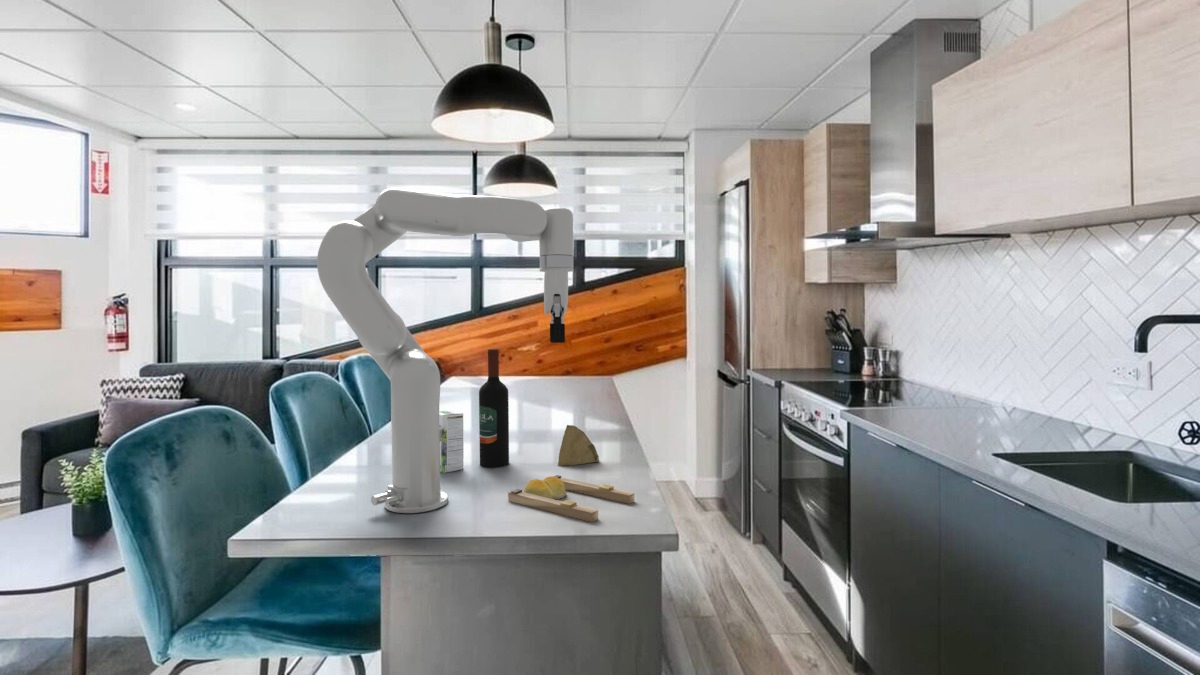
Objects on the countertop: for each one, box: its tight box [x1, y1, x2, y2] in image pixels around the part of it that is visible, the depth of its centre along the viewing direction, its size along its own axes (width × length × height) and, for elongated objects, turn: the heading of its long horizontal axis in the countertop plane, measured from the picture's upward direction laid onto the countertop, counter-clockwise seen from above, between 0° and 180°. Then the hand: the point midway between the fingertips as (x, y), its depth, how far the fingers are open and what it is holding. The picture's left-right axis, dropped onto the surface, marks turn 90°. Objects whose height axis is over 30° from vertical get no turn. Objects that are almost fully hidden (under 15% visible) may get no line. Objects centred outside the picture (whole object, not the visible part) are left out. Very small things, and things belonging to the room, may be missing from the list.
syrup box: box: [439, 410, 465, 474], centre depth 152 cm, size 6×6×14 cm
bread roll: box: [523, 476, 568, 500], centre depth 131 cm, size 8×9×4 cm
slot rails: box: [507, 474, 635, 523], centre depth 127 cm, size 15×22×2 cm
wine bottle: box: [478, 348, 510, 469], centre depth 156 cm, size 8×8×30 cm
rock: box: [557, 424, 600, 467], centre depth 158 cm, size 11×9×10 cm
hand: (557, 341), depth 135 cm, fingers open, 9 cm apart
